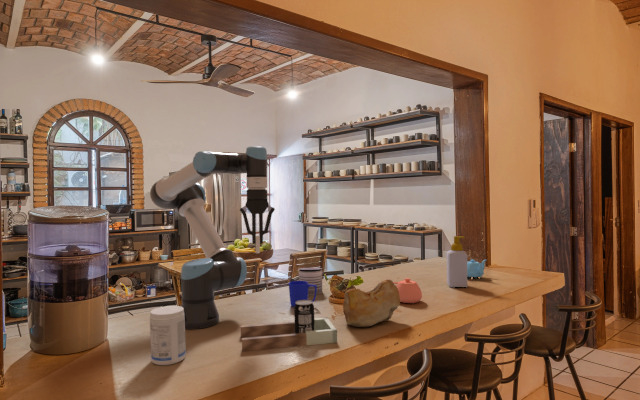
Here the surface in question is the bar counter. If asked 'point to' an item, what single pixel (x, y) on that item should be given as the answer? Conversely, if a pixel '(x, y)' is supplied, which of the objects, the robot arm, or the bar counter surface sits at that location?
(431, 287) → the bar counter surface
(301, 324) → the beverage can
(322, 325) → the pale grey box
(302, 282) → the mug
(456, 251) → the soap bottle
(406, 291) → the sugar bowl
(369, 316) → the rough brown rock
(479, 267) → the teapot
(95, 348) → the bar counter surface
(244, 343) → the trough
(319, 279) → the can
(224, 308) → the bar counter surface
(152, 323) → the supplement tub
